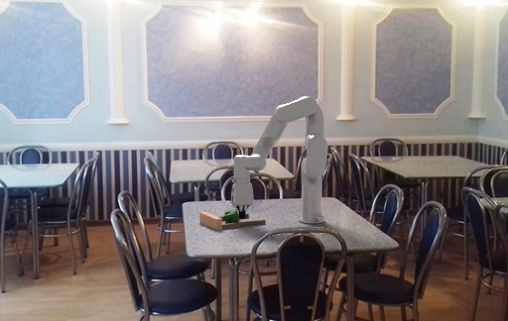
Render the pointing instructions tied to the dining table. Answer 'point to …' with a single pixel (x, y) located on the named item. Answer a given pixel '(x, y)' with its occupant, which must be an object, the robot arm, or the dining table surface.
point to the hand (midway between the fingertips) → (242, 218)
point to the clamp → (231, 216)
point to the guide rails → (242, 223)
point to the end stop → (211, 220)
